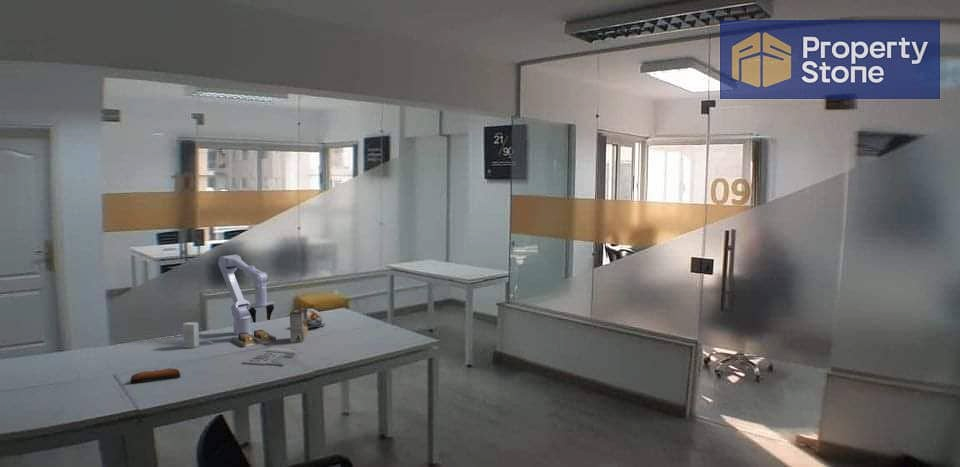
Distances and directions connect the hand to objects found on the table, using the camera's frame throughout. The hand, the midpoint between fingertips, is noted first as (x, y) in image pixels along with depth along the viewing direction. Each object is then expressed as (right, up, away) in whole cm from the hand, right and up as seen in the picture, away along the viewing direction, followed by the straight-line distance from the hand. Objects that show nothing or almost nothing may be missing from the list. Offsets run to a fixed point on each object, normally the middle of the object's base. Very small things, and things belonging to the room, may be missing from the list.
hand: (261, 320), depth 297 cm
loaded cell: (+1, -9, -3) cm, 10 cm away
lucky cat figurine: (+20, -8, +25) cm, 33 cm away
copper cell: (-4, -10, -9) cm, 14 cm away
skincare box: (-29, -11, -15) cm, 35 cm away
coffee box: (+21, -10, -3) cm, 24 cm away
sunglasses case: (-21, -16, -60) cm, 65 cm away
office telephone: (+19, -13, -31) cm, 38 cm away
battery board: (-1, -10, -6) cm, 12 cm away
